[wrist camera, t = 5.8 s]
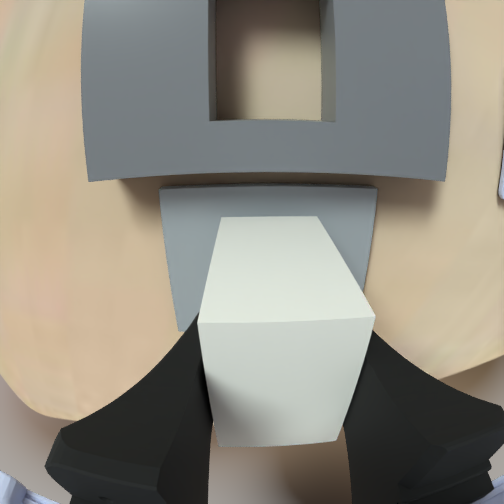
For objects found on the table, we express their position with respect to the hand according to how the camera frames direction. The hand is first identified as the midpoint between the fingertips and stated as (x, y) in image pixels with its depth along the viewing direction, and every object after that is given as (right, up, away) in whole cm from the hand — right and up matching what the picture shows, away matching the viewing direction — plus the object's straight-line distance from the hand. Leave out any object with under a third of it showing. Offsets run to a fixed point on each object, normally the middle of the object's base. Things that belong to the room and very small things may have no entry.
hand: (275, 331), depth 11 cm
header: (0, +11, +1) cm, 11 cm away
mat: (0, +2, +5) cm, 5 cm away
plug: (0, +2, +3) cm, 4 cm away
